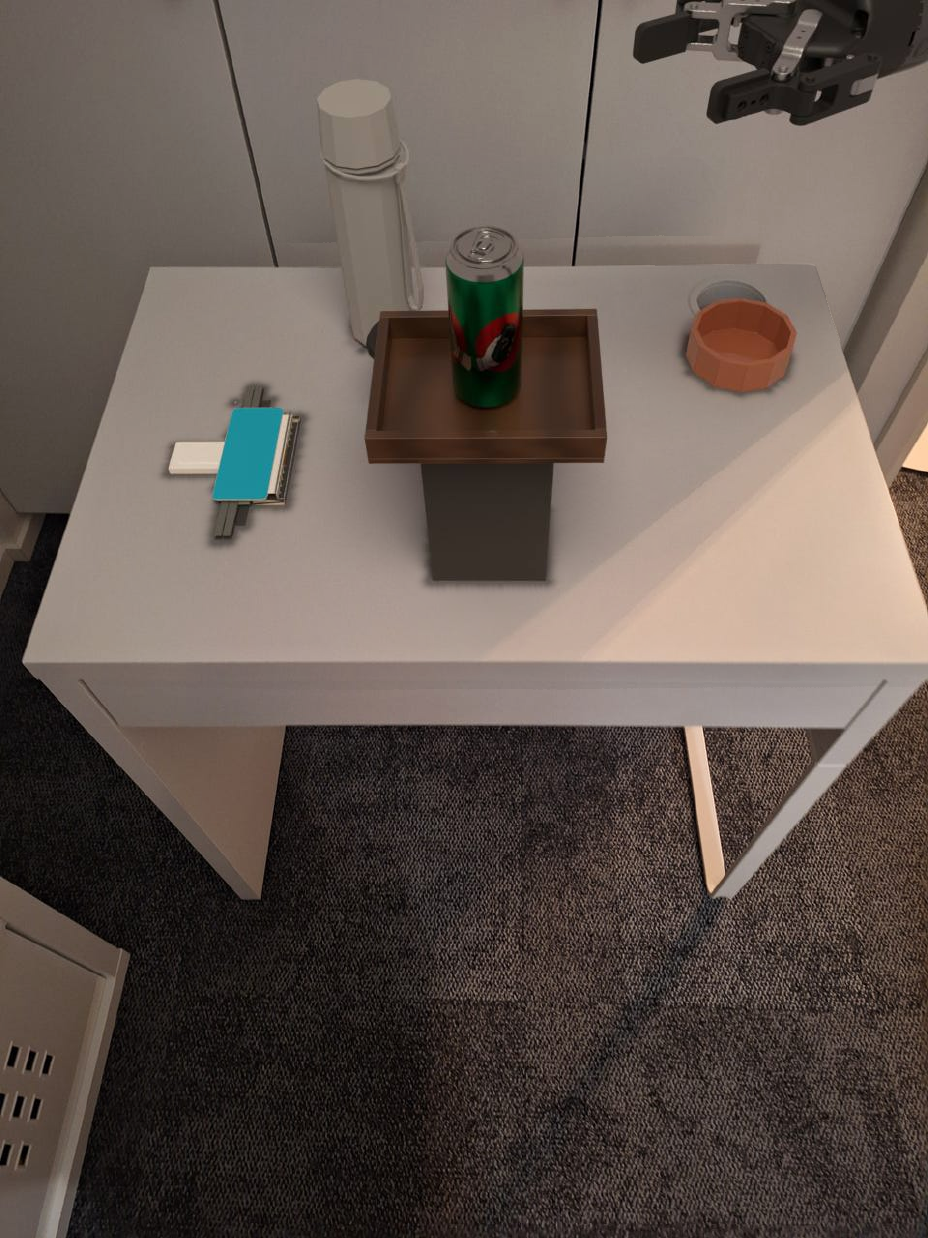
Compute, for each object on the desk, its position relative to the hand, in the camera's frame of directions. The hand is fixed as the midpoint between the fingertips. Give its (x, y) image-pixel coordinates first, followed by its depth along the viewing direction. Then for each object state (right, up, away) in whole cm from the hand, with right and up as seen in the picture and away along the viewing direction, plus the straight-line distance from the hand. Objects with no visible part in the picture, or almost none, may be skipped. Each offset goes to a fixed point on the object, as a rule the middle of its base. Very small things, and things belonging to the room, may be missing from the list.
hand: (672, 73), depth 57 cm
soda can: (-11, -17, +11) cm, 23 cm away
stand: (-11, -27, +26) cm, 39 cm away
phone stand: (-36, -18, +34) cm, 52 cm away
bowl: (+16, -6, +39) cm, 42 cm away
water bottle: (-21, -3, +43) cm, 48 cm away
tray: (-11, -17, +11) cm, 24 cm away
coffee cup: (-18, -13, +37) cm, 43 cm away
